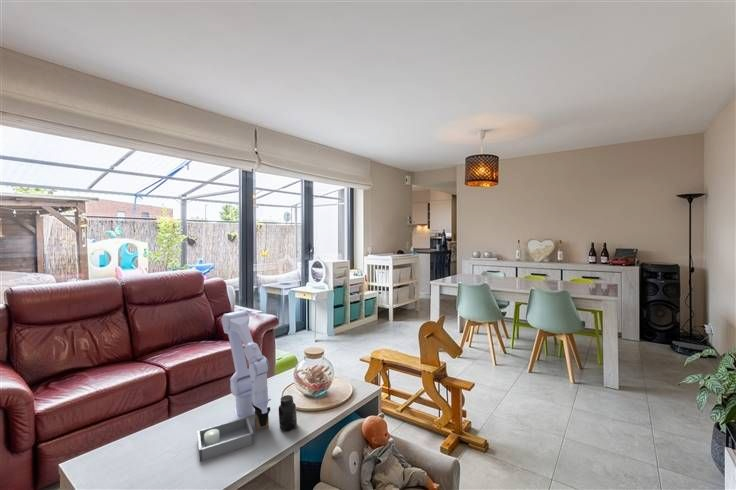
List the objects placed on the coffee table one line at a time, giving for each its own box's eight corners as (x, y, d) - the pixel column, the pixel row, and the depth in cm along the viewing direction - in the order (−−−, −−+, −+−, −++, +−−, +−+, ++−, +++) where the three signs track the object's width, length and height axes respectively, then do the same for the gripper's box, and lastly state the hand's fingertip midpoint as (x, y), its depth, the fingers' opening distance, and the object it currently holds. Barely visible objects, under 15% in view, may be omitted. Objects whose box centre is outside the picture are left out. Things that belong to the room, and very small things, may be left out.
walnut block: (255, 425, 138) (254, 411, 138) (266, 422, 140) (265, 407, 140) (257, 431, 134) (256, 416, 134) (268, 427, 136) (268, 413, 136)
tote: (197, 442, 128) (197, 430, 128) (247, 427, 137) (247, 416, 137) (199, 463, 117) (199, 450, 116) (254, 445, 125) (253, 433, 125)
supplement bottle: (291, 420, 141) (289, 391, 140) (300, 426, 136) (299, 397, 135) (276, 427, 136) (274, 398, 136) (285, 434, 131) (283, 404, 131)
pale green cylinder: (204, 444, 125) (203, 431, 125) (219, 440, 128) (218, 427, 128) (205, 452, 121) (204, 439, 121) (220, 447, 124) (219, 434, 123)
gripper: (274, 394, 132) (276, 428, 133) (266, 380, 144) (267, 411, 145) (255, 399, 128) (257, 434, 129) (248, 384, 141) (250, 416, 142)
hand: (261, 422), depth 137 cm, fingers closed on walnut block, 4 cm apart
